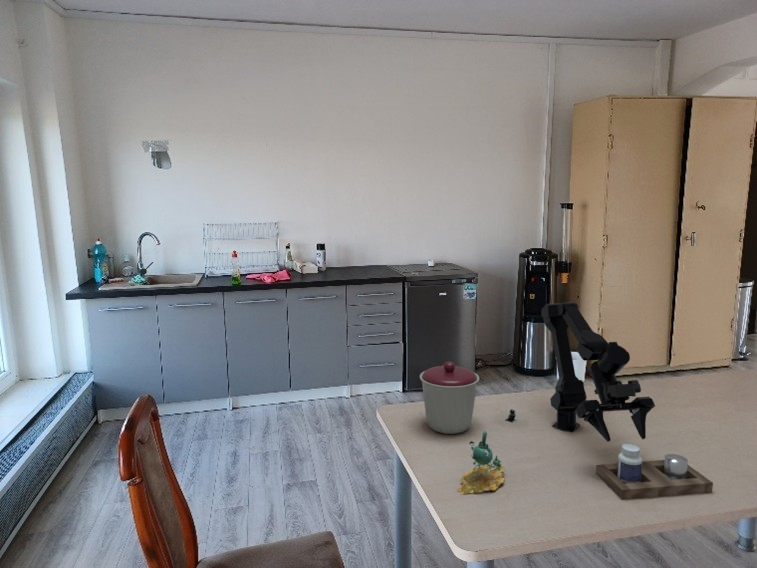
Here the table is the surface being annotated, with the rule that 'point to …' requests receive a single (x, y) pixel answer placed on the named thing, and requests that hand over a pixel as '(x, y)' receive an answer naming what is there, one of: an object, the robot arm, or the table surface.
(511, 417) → the sculpture
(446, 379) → the canister
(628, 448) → the pill bottle
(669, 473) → the steel peg
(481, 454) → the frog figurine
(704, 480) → the brown holder board
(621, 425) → the table surface
